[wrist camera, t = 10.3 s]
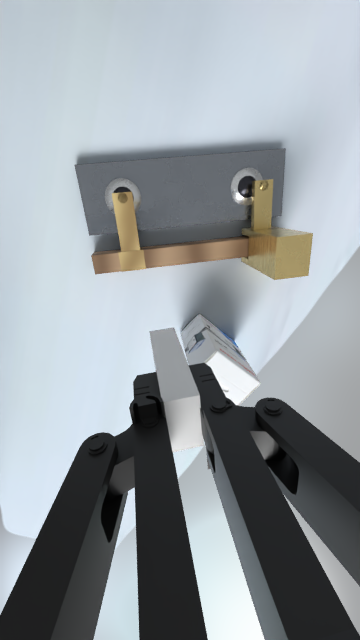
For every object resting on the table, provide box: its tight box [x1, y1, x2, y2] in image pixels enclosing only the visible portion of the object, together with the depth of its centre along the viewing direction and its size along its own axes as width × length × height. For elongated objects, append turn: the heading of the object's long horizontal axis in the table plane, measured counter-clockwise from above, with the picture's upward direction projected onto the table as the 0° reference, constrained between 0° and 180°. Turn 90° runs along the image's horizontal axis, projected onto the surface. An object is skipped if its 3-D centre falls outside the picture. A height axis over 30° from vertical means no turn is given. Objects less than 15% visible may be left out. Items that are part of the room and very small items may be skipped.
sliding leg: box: [241, 179, 313, 280], centre depth 33 cm, size 4×10×11 cm, turn 5°
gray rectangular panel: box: [75, 148, 286, 236], centre depth 35 cm, size 26×8×1 cm, turn 95°
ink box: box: [181, 314, 261, 406], centre depth 40 cm, size 9×5×12 cm, turn 49°
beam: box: [92, 192, 249, 274], centre depth 36 cm, size 26×9×3 cm, turn 95°
